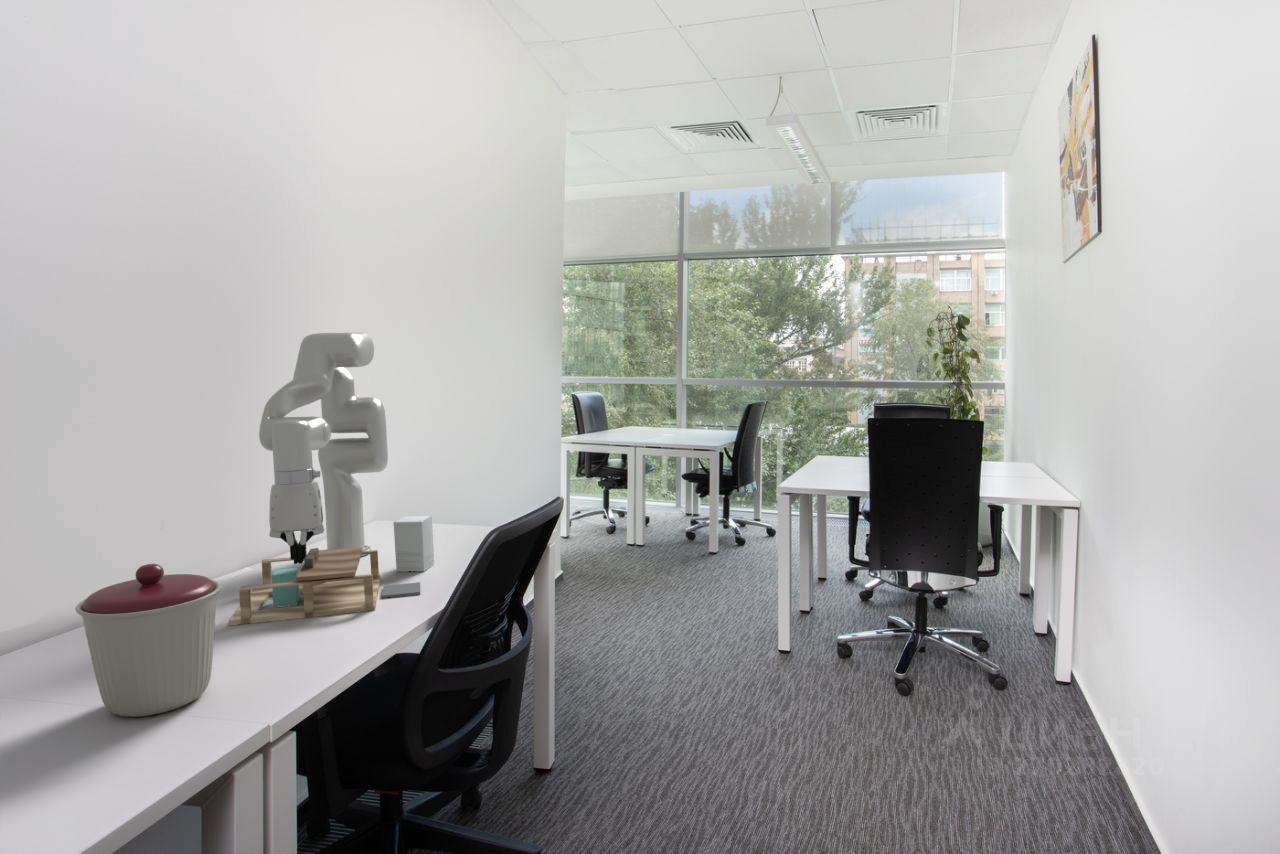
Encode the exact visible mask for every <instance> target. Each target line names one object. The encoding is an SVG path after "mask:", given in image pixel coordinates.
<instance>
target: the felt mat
mask: <svg viewBox="0 0 1280 854" xmlns="http://www.w3.org/2000/svg"><path fill="white" fill-rule="evenodd" d="M420 595H421V581H420V582H408V583H399V584H398V583H397V584H389V585H388V584H387V585H383V587H382V593H381V599H389V598H388V597H391V598H399V597H400V596H401V597H407V596H408V597H409V596H420Z"/></svg>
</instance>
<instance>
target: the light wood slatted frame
mask: <svg viewBox="0 0 1280 854" xmlns="http://www.w3.org/2000/svg"><path fill="white" fill-rule="evenodd" d="M362 554H367V555H369V557H370V558H369V559H370V573H369V574H359V575H358V574H357V575H356V574H355V576H349V577H338V578H327V579H317V580H306V581H293V582H282V583H272V574H273V572H272V563H278V562H279V563H281V562H289V561H290V562H292V561H294V559H293V560H291V557H280V558H279V557H278V558H269V559H262V560H261V571H262V573H261V574H262V584H252V585H243V586H240V587H239V588H238V593H239V607H238V608H237V610H236V611H235V613H233V615H232V616H231V617H230V619H229V620H228V624H229V625H231V626H237V625H238V624H241V625H248V623H250V624H257V623H258V622H259V623H265V622H267V621H269V622H275V621H277V622H278V621H285V620H286V619H287V620H295V619H305V618H313V617H322V616H331V615H332V616H333V614H334V615H340V614H341V615H342V613H343V614H350V612H352V613H360V612H359V611H362V612H368V611H370V610H371V611H376V609H377V608H376V607H377V601H378V597H377V596H378V595H379V590H380V584H381V575H380V571H379V552H378V549H373V550H372V549H371V551H362ZM304 559H305V558H304ZM292 585H299V593H300V594H303V595H302V596H303V605H299V606H298V605H297V606H287V607H277V608H271V609H263V608H264V606H265V604H266V603H267V601H268V600H269V598H270V597H271V596H270V595H273V591H272V587H282V586H292ZM269 596H270V597H269ZM267 599H268V600H267ZM265 602H266V603H265ZM263 605H264V606H263ZM261 608H262V609H261ZM357 611H358V612H357ZM238 626H239V625H238Z"/></svg>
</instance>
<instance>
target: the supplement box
mask: <svg viewBox="0 0 1280 854" xmlns="http://www.w3.org/2000/svg"><path fill="white" fill-rule="evenodd" d="M433 532H434V531H433V516H432V515H424V516H423V515H415V516H414V515H412V516H411V515H409V516H407V515H405V516H403V517H401V518H399V519H397V520H396V521H395V520H394V521H393V535H394V537H393V538H394V551H395V552H394V553H395V563H396V564H395V567H396V572H397V573H398V572H401V573H402V572H405V573H407V572H409V571H411V572H414V571H415V572H416V573H417V572H418V573H419V572H426V571H427V570H428V569H430V568H432V567H433V566H434V565H435V553H434V533H433ZM433 564H434V565H433ZM432 565H433V566H432ZM429 567H430V568H429ZM425 570H426V571H425Z"/></svg>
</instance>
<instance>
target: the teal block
mask: <svg viewBox="0 0 1280 854" xmlns="http://www.w3.org/2000/svg"><path fill="white" fill-rule="evenodd" d="M298 574H299V567H292V568H291V567H290V568H280V569H279V568H278V569H275V570H274V571H273V572H272V583H282V582H293V581H296V577H297V575H298ZM272 591H273V596H272V602H273V605H272V606H273V608H279V607H278V606H284V607H289V606H288V605H294V606H298V604H297V603H299V602H298V601H300V600H301V596H300V594H301V593H299V585H292V586H282V587H272Z"/></svg>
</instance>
